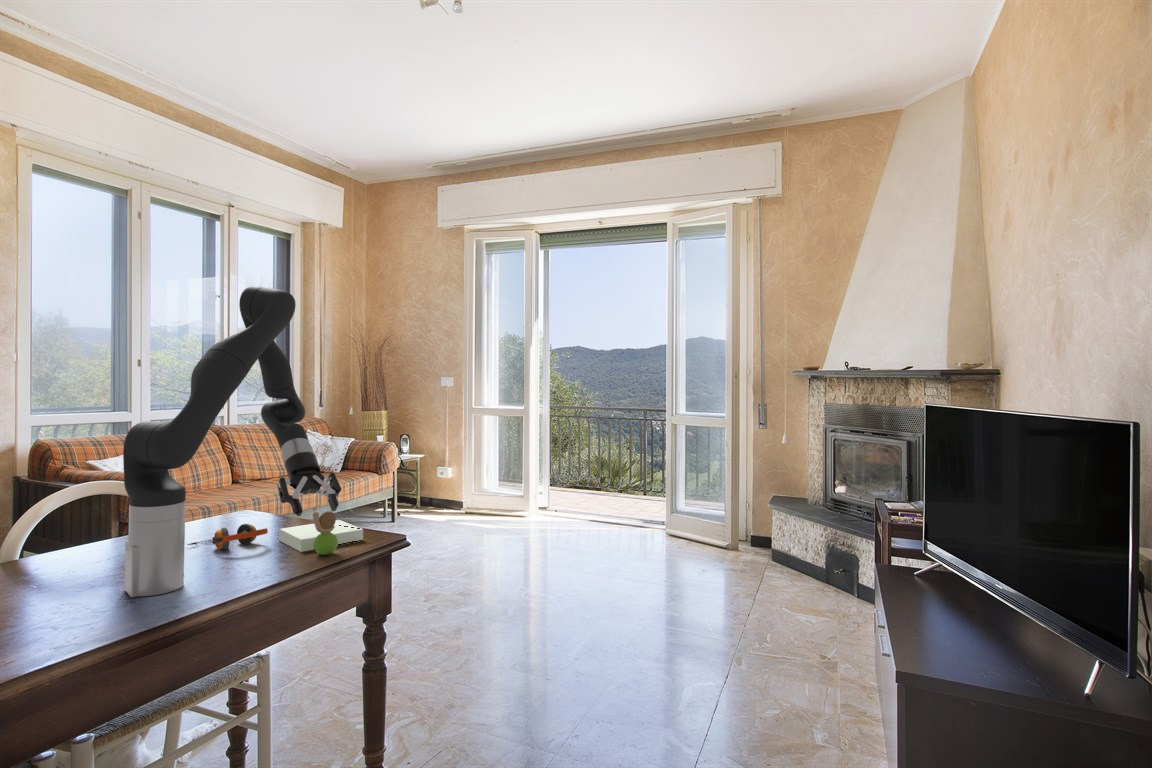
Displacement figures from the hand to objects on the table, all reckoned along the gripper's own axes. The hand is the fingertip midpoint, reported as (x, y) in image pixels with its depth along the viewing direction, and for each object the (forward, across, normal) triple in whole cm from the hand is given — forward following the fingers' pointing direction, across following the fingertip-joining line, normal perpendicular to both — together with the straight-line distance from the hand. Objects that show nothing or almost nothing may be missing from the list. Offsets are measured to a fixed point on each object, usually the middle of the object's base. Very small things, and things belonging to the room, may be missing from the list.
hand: (317, 511), depth 147 cm
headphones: (-6, -13, +20) cm, 25 cm away
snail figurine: (+10, 0, +4) cm, 11 cm away
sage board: (0, +5, +13) cm, 14 cm away
